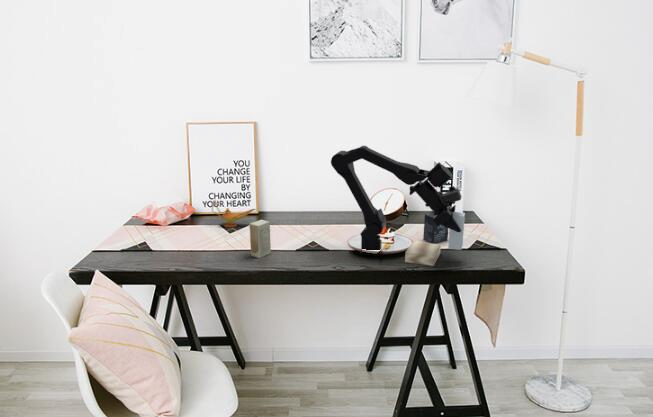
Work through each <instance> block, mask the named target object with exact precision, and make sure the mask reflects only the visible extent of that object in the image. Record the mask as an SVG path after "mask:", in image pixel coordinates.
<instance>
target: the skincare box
mask: <svg viewBox="0 0 653 417" xmlns="http://www.w3.org/2000/svg"><path fill="white" fill-rule="evenodd" d="M249 236H250V238H249V240H250V241H249V242H250V255H251V256H252V257H254V258H257V259H261V258H263V257H266V256H269V255H270V254H271V253H272V248H271V247H272V246H271V244H272V243H271V224H270V221H268V220H266V219H265V220H264V219H259V220H257V221H254V222H251V223H249Z"/></svg>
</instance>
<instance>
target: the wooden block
mask: <svg viewBox="0 0 653 417" xmlns="http://www.w3.org/2000/svg"><path fill="white" fill-rule="evenodd" d="M441 246H442V245H441V244H438V243H434V244H432V243H429V242H424V241H423V242H421V241H415V240H414V241H412V243H411V244H410V245H409V247H408V248H407V250H406V251H405V252H404V253H405V255H404V259H405V260H404V262H405V263H411V264H418V265H419V264H420V265H424V266H425V265H426V266H432V267H434V266H435V265H436V263H437V260H438V259H439V257H440V255H441Z"/></svg>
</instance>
